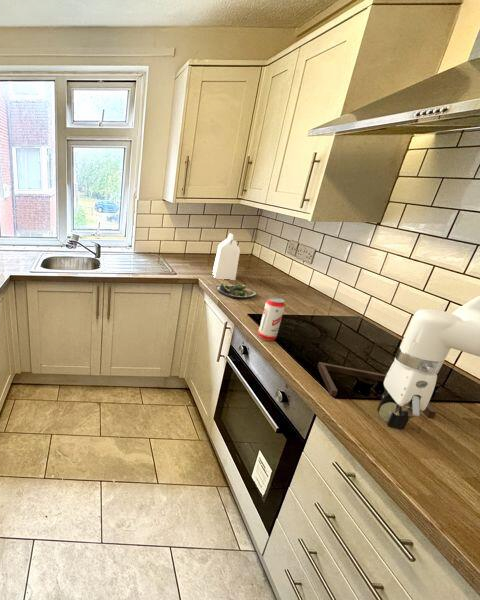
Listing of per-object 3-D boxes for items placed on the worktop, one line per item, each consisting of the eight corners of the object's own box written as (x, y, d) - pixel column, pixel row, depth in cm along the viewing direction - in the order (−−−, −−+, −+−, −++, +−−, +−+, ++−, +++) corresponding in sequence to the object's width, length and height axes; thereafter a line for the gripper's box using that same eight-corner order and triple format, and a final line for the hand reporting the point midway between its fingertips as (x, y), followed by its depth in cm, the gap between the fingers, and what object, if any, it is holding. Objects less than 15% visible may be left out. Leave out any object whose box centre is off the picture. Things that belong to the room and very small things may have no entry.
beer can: (278, 338, 122) (289, 300, 116) (270, 343, 118) (281, 304, 112) (262, 332, 127) (272, 295, 120) (254, 336, 123) (263, 298, 117)
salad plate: (236, 285, 179) (238, 277, 177) (264, 295, 164) (266, 287, 162) (210, 289, 172) (211, 281, 170) (237, 301, 157) (238, 292, 155)
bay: (404, 383, 96) (407, 378, 95) (433, 418, 83) (436, 412, 82) (317, 367, 104) (318, 361, 103) (330, 395, 91) (332, 390, 90)
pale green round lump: (399, 429, 79) (407, 413, 77) (374, 418, 83) (381, 402, 81) (403, 421, 81) (411, 406, 80) (379, 411, 85) (386, 396, 83)
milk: (212, 273, 201) (219, 232, 191) (231, 274, 198) (239, 233, 188) (214, 278, 190) (222, 235, 180) (235, 280, 187) (244, 236, 177)
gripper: (462, 384, 66) (426, 448, 73) (419, 346, 81) (392, 402, 88) (416, 376, 69) (385, 438, 76) (382, 340, 84) (359, 395, 90)
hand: (389, 418), depth 82 cm, fingers closed on pale green round lump, 5 cm apart
